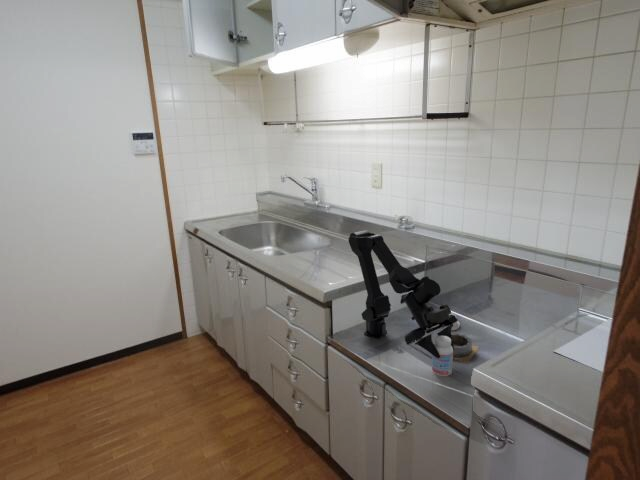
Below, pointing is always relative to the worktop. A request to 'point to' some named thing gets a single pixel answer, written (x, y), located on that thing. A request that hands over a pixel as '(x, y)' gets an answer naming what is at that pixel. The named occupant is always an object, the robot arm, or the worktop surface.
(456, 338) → the ring collar
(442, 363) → the pill bottle
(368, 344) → the worktop surface
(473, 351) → the tan square board
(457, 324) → the mechanical component
